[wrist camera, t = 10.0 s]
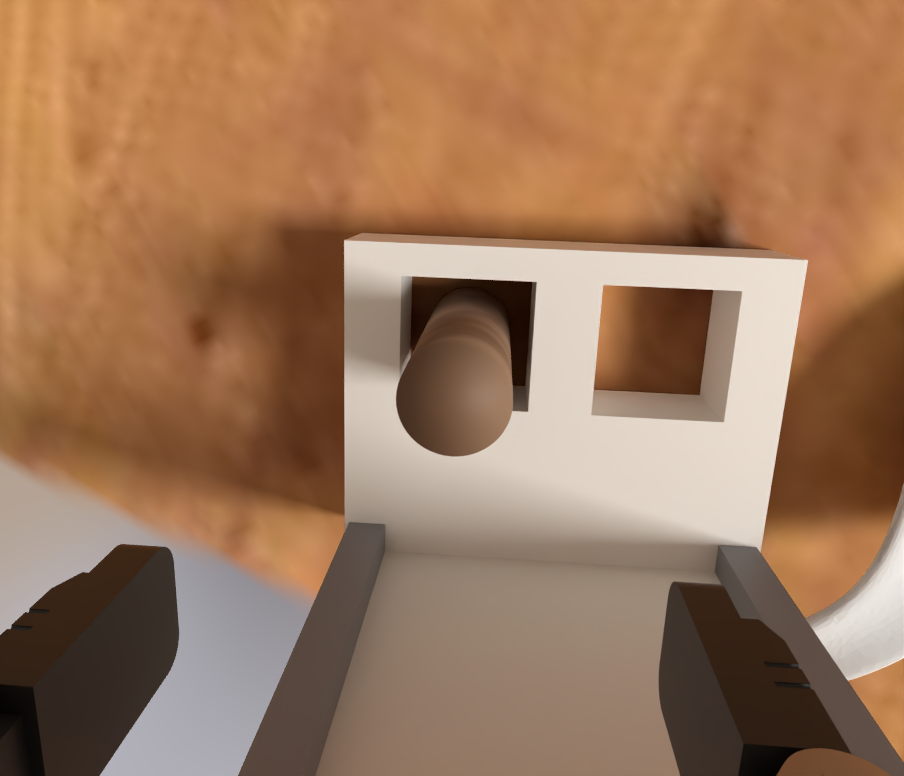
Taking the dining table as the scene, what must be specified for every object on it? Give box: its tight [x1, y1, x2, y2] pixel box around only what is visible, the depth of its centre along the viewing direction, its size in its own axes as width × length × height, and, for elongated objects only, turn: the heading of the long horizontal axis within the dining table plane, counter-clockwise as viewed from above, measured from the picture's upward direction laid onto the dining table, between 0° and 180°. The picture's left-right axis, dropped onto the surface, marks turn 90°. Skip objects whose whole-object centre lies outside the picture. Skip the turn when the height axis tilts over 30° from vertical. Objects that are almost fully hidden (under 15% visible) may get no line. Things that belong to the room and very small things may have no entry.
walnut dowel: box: [396, 287, 513, 457], centre depth 29 cm, size 4×4×12 cm
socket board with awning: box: [238, 233, 904, 776], centre depth 24 cm, size 18×14×23 cm
